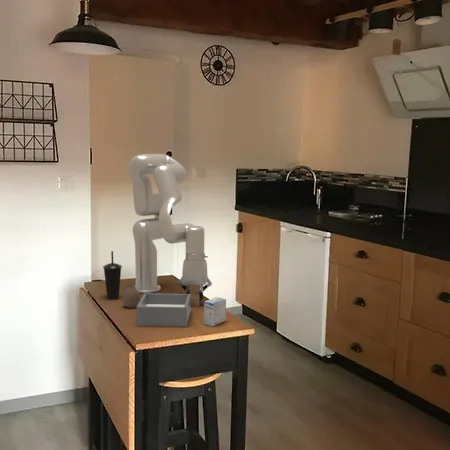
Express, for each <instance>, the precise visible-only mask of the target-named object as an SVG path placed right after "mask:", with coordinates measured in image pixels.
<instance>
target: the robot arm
mask: <svg viewBox="0 0 450 450" xmlns="http://www.w3.org/2000/svg"><path fill="white" fill-rule="evenodd" d="M128 167H129V168H128V171H129V176H130V180H131V181H130V182H131V184H132V194H133V196H132V197H133V206H134V211H135V214H136V215H137V216H141V217H149V216H154V218H153V217H151V218H143V219H139V220H137V221H136V222H134V223H133V225H132V236H133V240H134V241H133V242H134V249H135V251H134V256H135V261H134V262H135V268H134V269H135V284H133V285H134V286H135V288H136V289H137V290H138V292H139V294H140V293H143V294H144V293H156V292H159V291H160V290H161V289H162V288H161V285H160V284H158V250H157V247H156V245H155V243H154V242H153V241H155V240H162V239H164V241H165V242H166V243H167V244H171V245H173V244H179V243H185V259H183V262H182V270H181V271H182V273H181V274H182V275H181V277H180V279H179V280H178V282H177V286H179V287H180V288H182V289H183V290H184V291H185V292H186V293H185V294H189V284H197V285H200V293H199V302H200V303H201V302H202V300H204V292H205V291H206V289H208V288H209V287H211V286H212V285H213V283H212V281H211V280H210V278H209V276H208V263H207V259H206V258H208V257H209V254H207V253H205V228H204V227H203V226H200V225H195V224H192V223H190V222H189V223H188V222H186V223H176V224H175V223H174V224H173V222H172V218H171V212H172V211H171V210H172V209H173V207H175V206H176V205H178V204H179V203H180V202H181V201H182V199H183V196H182V193H181V190H180V187H179V185H180V184H184V182H185V181H186V180H187V171H186V169H185V167H184V165H182V164H181V163H180V162H179V161H177V160H175V159H174V158H172V157H171V156H170V155H167V154H164V153H142V154H137V155H135V156H133V157H132V158H131V159H130V162H129V164H128ZM149 174H151V175H153V178H154V181H155V184H156V188H157V190H158V192H156V193H154V190H153V183H152V181H151V179H150V178H149V176H148V175H149Z"/></svg>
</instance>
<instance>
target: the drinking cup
mask: <svg viewBox="0 0 450 450" xmlns="http://www.w3.org/2000/svg"><path fill="white" fill-rule="evenodd" d="M110 255H111V262H110V263H106V264H104V265H103V266H102V268H103V272H104V281H105V290H106V291H105V292H106V299H108V300H118V299H119V298H120V289H121V287H120V286H121V276H122V275H121V273H122V272H121V271H122V268H123V266H122V265H121V264H119V263H115V262H114V251H111V254H110Z"/></svg>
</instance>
